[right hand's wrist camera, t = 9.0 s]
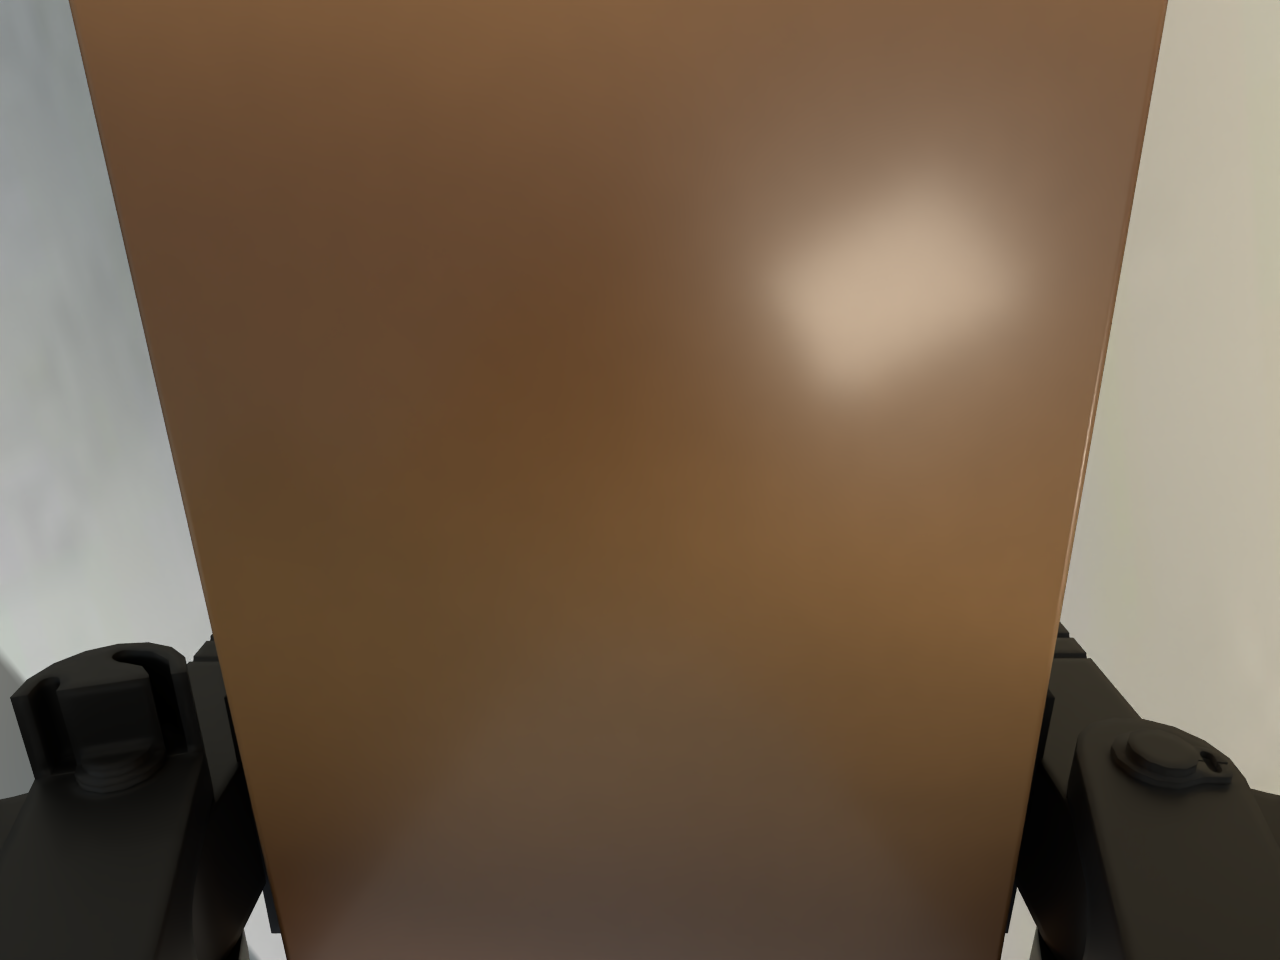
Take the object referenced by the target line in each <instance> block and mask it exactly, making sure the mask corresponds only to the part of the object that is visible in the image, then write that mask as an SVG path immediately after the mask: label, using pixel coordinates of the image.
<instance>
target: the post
mask: <svg viewBox="0 0 1280 960" xmlns="http://www.w3.org/2000/svg"><path fill="white" fill-rule="evenodd" d="M69 3H70V8H71V12H72V17H73V21H74V25H75V30H76V34H77V39H78V43H79V47H80V52H81V56H82V61H83V65H84V69H85V74H86V78H87V83H88V87H89V91H90V96H91V100H92V105H93V109H94V113H95V118H96V122H97V127H98V131H99V135H100V140H101V144H102V149H103V153H104V157H105V162H106V166H107V171H108V175H109V179H110V184H111V188H112V193H113V197H114V201H115V206H116V210H117V215H118V219H119V223H120V228H121V232H122V237H123V241H124V245H125V250H126V254H127V259H128V263H129V267H130V272H131V276H132V281H133V285H134V289H135V294H136V298H137V303H138V307H139V311H140V316H141V320H142V325H143V329H144V333H145V338H146V342H147V347H148V351H149V355H150V360H151V364H152V369H153V373H154V377H155V382H156V386H157V391H158V395H159V399H160V404H161V408H162V413H163V417H164V421H165V426H166V430H167V435H168V439H169V443H170V448H171V452H172V457H173V461H174V465H175V470H176V474H177V479H178V483H179V487H180V492H181V496H182V501H183V505H184V509H185V514H186V518H187V523H188V527H189V531H190V536H191V540H192V545H193V549H194V553H195V558H196V562H197V567H198V571H199V575H200V580H201V584H202V589H203V593H204V597H205V602H206V606H207V611H208V615H209V619H210V624H211V628H212V633H213V637H214V641H215V646H216V650H217V655H218V659H219V663H220V668H221V672H222V677H223V681H224V685H225V690H226V694H227V698H228V703H229V707H230V712H231V716H232V720H233V725H234V729H235V734H236V738H237V742H238V747H239V751H240V756H241V760H242V764H243V769H244V773H245V778H246V782H247V786H248V791H249V795H250V800H251V804H252V808H253V813H254V817H255V822H256V826H257V830H258V835H259V839H260V844H261V848H262V852H263V857H264V861H265V866H266V870H267V874H268V879H269V883H270V888H271V892H272V896H273V901H274V905H275V910H276V914H277V918H278V923H279V927H280V932H281V936H282V940H283V945H284V949H285V954H286V958H287V960H1001V954H1002V948H1003V942H1004V937H1005V931H1006V925H1007V919H1008V914H1009V908H1010V902H1011V897H1012V891H1013V885H1014V879H1015V874H1016V868H1017V862H1018V856H1019V851H1020V845H1021V839H1022V834H1023V828H1024V822H1025V816H1026V811H1027V805H1028V799H1029V794H1030V788H1031V782H1032V776H1033V771H1034V765H1035V759H1036V753H1037V748H1038V742H1039V736H1040V731H1041V725H1042V719H1043V713H1044V708H1045V702H1046V696H1047V690H1048V685H1049V679H1050V673H1051V668H1052V662H1053V656H1054V650H1055V645H1056V639H1057V633H1058V628H1059V622H1060V616H1061V610H1062V605H1063V599H1064V593H1065V587H1066V582H1067V576H1068V570H1069V565H1070V559H1071V553H1072V547H1073V542H1074V536H1075V530H1076V524H1077V519H1078V513H1079V507H1080V502H1081V496H1082V490H1083V484H1084V479H1085V473H1086V467H1087V462H1088V456H1089V450H1090V444H1091V439H1092V433H1093V427H1094V421H1095V416H1096V410H1097V404H1098V399H1099V393H1100V387H1101V381H1102V376H1103V370H1104V364H1105V358H1106V353H1107V347H1108V341H1109V336H1110V330H1111V324H1112V318H1113V313H1114V307H1115V301H1116V295H1117V290H1118V284H1119V278H1120V273H1121V267H1122V261H1123V255H1124V250H1125V244H1126V238H1127V233H1128V227H1129V221H1130V215H1131V210H1132V204H1133V198H1134V192H1135V187H1136V181H1137V175H1138V170H1139V164H1140V158H1141V152H1142V147H1143V141H1144V135H1145V129H1146V124H1147V118H1148V112H1149V107H1150V101H1151V95H1152V89H1153V84H1154V78H1155V72H1156V67H1157V61H1158V55H1159V49H1160V44H1161V38H1162V32H1163V26H1164V21H1165V15H1166V9H1167V4H1168V0H69Z"/></svg>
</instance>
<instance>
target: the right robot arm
mask: <svg viewBox="0 0 1280 960" xmlns="http://www.w3.org/2000/svg"><path fill="white" fill-rule="evenodd" d="M10 699H11V702H12V705H13V709H14V712H15V715H16V718H17V721H18V725H19V728H20V731H21V735H22V738H23V741H24V745H25V748H26V751H27V754H28V758H29V761H30V764H31V767H32V771H33V774H34V777H35V780H34V783H33V785H32V787H31V789H30V791H29V793H26V794H22V795H18V796H15V797H10V798H6V799H1V800H0V960H250V959H249V952H248V946H247V941H246V937H245V932H244V927H245V925H246V923H247V921H248V919H249V917H250V915H251V913H252V911H253V909H254V907H255V905H256V903H257V901H258V898H259V896H260V894H261V892H262V890H263V894H264V898H265V903H266V908H267V913H268V918H269V923H270V928H271V933H281V932H280V927H279V923H278V918H277V914H276V910H275V905H274V901H273V896H272V892H271V888H270V883H269V879H268V874H267V870H266V866H265V861H264V857H263V852H262V848H261V844H260V839H259V835H258V830H257V826H256V822H255V817H254V813H253V808H252V804H251V800H250V795H249V791H248V786H247V782H246V778H245V773H244V769H243V764H242V760H241V756H240V751H239V747H238V742H237V738H236V734H235V729H234V725H233V720H232V716H231V712H230V707H229V703H228V698H227V694H226V690H225V685H224V681H223V677H222V672H221V668H220V663H219V659H218V655H217V650H216V646H215V641H214V637H213V634H212V635H211V640H210V641H206V642H205V643H204V645H203V646H202V647H201V648H200V649H199V651H198V652H197V653H196V654H195V655H194V660H193V662H189V663H188V664H186V659H185V657H184V656H183V655H182V654H180V653H179V652H178V651H176V650H175V649H174V648H172V647H169V646H164V645H159V644H154V643H149V642H147V643H125V644H116V645H111V646H106V647H102V648H97V649H93V650H88V651H85V652H82V653H79V654H77V655H74V656H72V657H69V658H67V659H64V660H61V661H59V662H56V663H54V664H52V665H50V666H49V667H47V668H45V669H44V670H42V671H41V672H39V673H37V674H36V675H34V676H32V677H31V678H29V679H27V680H26V681H25V682H24V684H23V685H22V686H21V687H20V688H19V689H18V690H17V691H16V692H15V693H14V694H13V695H12V696H11V697H10ZM1017 887H1018V889H1019V891H1020V893H1021V895H1022V897H1023V899H1024V901H1025V903H1026V905H1027V907H1028V909H1029V912H1030V914H1031V916H1032V918H1033V920H1034V922H1035V924H1036V926H1037V927H1036V932H1035V937H1034V941H1033V946H1032V951H1031V955H1030V960H1280V795H1275V794H1270V793H1266V792H1262V791H1258V790H1254V789H1250V787H1249V785H1248V783H1247V781H1246V779H1245V777H1244V776H1243V775H1242V773H1241V772H1240V771H1239V770H1238V768H1237V767H1236V766H1235V765H1234V763H1233V762H1232V761H1231V760H1230V758H1228V757H1227V756H1226V755H1224V754H1223V753H1221V752H1220V751H1219V750H1217V749H1216V748H1214V747H1213V746H1211V745H1210V744H1209V743H1207V742H1206V741H1204V740H1202V739H1200V738H1198V737H1196V736H1193V735H1191V734H1189V733H1187V732H1184V731H1182V730H1180V729H1178V728H1175V727H1173V726H1169V725H1165V724H1161V723H1157V722H1153V721H1149V720H1145V719H1141V718H1140V716H1139V715H1138V714H1137V713H1136V712H1135V710H1134V709H1133V708H1132V707H1131V706H1130V704H1129V703H1128V702H1127V701H1126V700H1125V699H1124V697H1123V696H1122V695H1121V694H1120V693H1119V691H1118V690H1117V689H1116V688H1115V687H1114V685H1113V684H1112V683H1111V682H1110V681H1109V680H1108V678H1107V677H1106V676H1105V675H1104V674H1103V672H1102V671H1101V670H1100V669H1099V668H1098V666H1097V665H1096V664H1095V663H1094V662H1093V661H1092V659H1091V658H1087V657H1086V652H1085V651H1084V650H1083V649H1082V647H1081V646H1080V645H1079V644H1078V643H1077V642H1076V640H1075V639H1074V638H1070V637H1069V632H1068V631H1067V630H1066V628H1065V627H1064V626H1063V625H1062V624H1061V623H1060V622H1059V628H1058V633H1057V639H1056V645H1055V650H1054V656H1053V662H1052V668H1051V673H1050V679H1049V685H1048V690H1047V696H1046V702H1045V708H1044V713H1043V719H1042V725H1041V731H1040V736H1039V742H1038V748H1037V753H1036V759H1035V765H1034V771H1033V776H1032V782H1031V788H1030V794H1029V799H1028V805H1027V811H1026V816H1025V822H1024V828H1023V834H1022V839H1021V845H1020V851H1019V856H1018V862H1017V868H1016V874H1015V879H1014V885H1013V891H1012V897H1011V902H1010V908H1009V914H1008V919H1007V925H1006V931H1005V933H1008V930H1009V925H1010V920H1011V915H1012V910H1013V905H1014V900H1015V895H1016V890H1017Z"/></svg>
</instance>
